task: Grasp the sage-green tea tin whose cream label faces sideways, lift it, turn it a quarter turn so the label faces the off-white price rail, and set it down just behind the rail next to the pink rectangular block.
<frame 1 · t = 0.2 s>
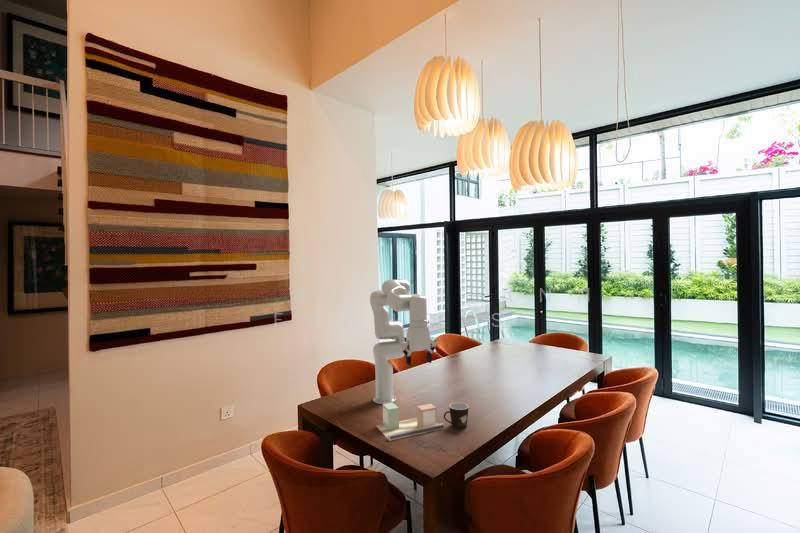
hand: (419, 363, 164), 30 cm above the table, fingers open, 9 cm apart
green tin: (390, 425, 170), point 1 cm above the table, touching shelf board
coffee mug: (455, 429, 168), on the table
pink rectangular block: (426, 426, 168), point 1 cm above the table, touching shelf board
shelf board: (409, 429, 168), on the table
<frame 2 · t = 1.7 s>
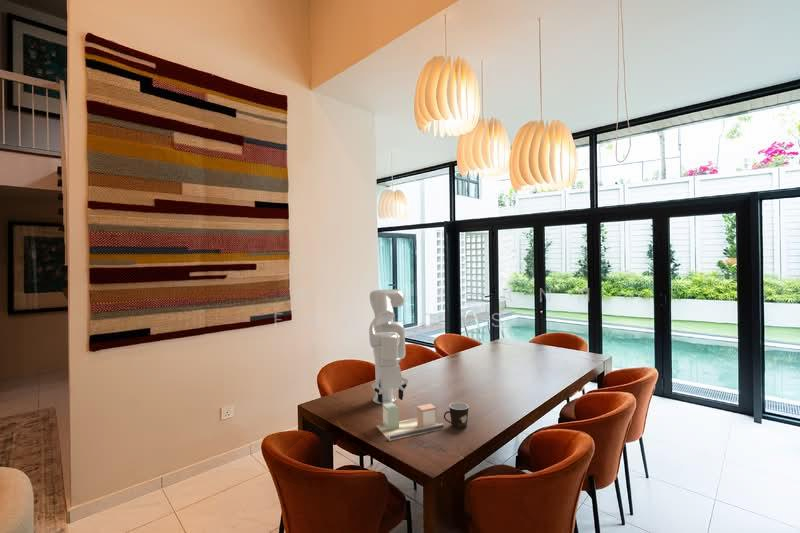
hand: (390, 400, 169), 13 cm above the table, fingers open, 9 cm apart
nothing on the table moved.
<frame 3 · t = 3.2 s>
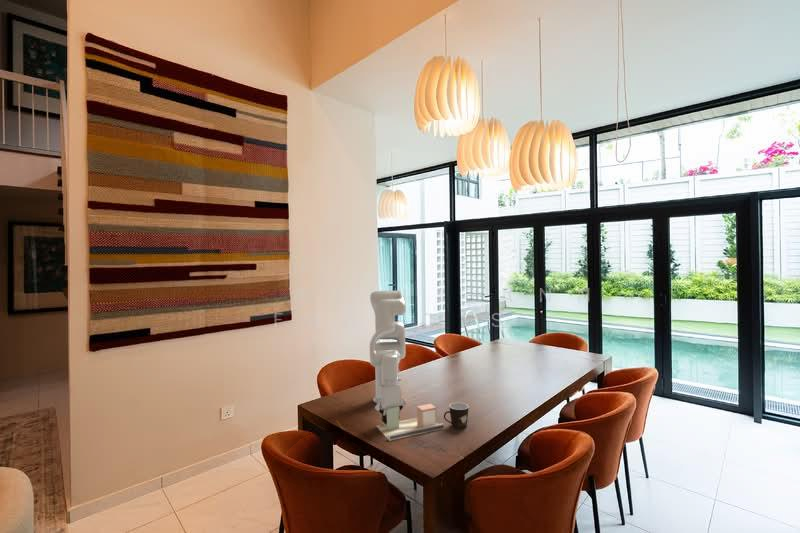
hand: (390, 421, 170), 3 cm above the table, fingers closed on green tin, 5 cm apart
green tin: (390, 425, 170), point 1 cm above the table, touching gripper, shelf board
everything else where it was.
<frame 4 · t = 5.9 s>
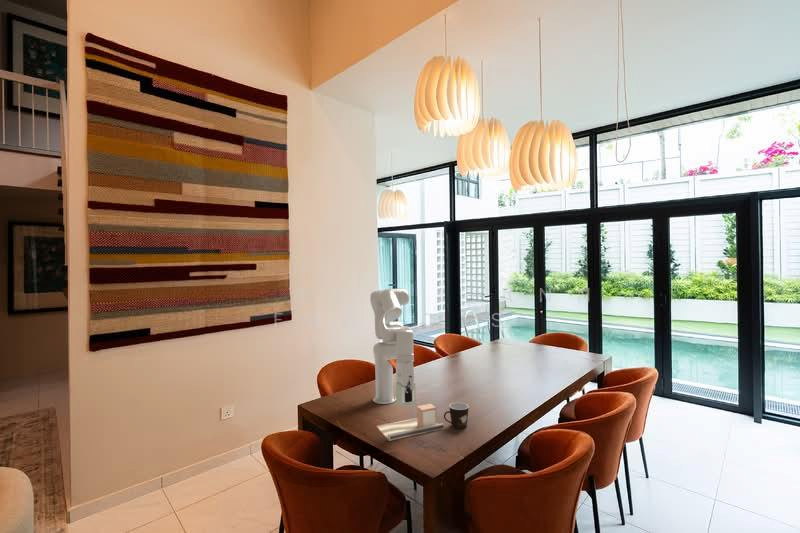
hand: (405, 399, 164), 15 cm above the table, fingers closed on green tin, 5 cm apart
green tin: (405, 403, 164), point 13 cm above the table, touching gripper
everything else where it was.
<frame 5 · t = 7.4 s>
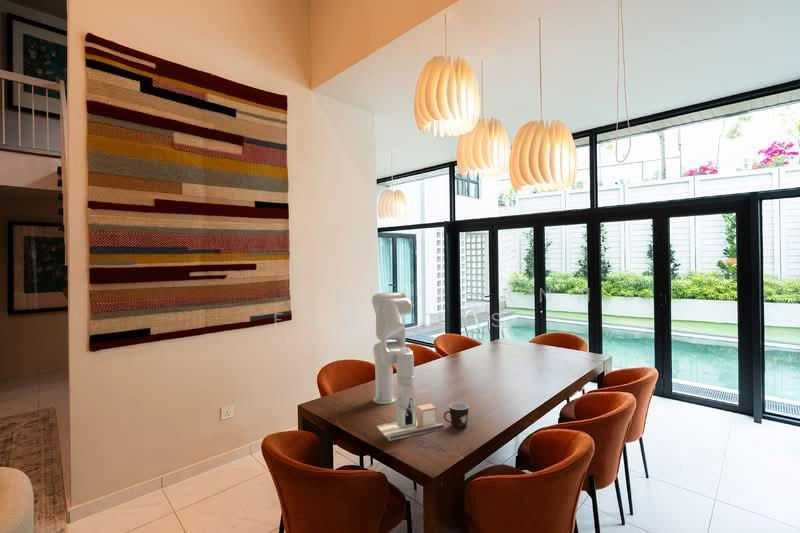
hand: (406, 421, 164), 5 cm above the table, fingers closed on green tin, 5 cm apart
green tin: (406, 425, 164), point 3 cm above the table, touching gripper
everything else where it was.
when the fingers open (4 cm above the table, at t = 8.5 s): green tin drops 1 cm, resting on shelf board.
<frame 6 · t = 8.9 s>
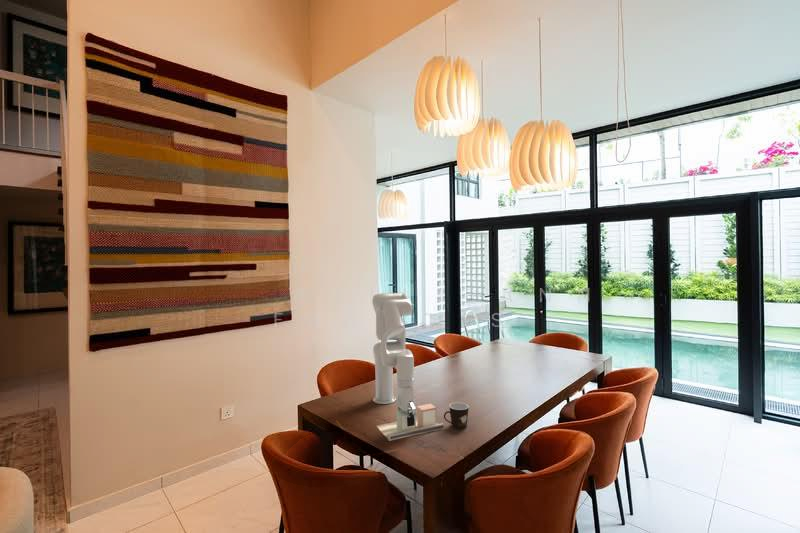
hand: (406, 421, 164), 5 cm above the table, fingers open, 9 cm apart
green tin: (406, 431, 164), point 1 cm above the table, touching shelf board
everything else where it was.
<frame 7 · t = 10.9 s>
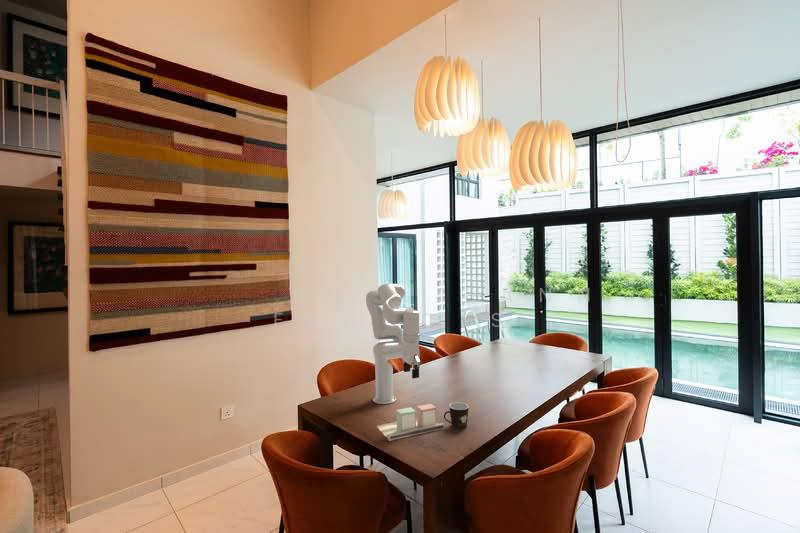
hand: (411, 374, 172), 23 cm above the table, fingers open, 9 cm apart
nothing on the table moved.
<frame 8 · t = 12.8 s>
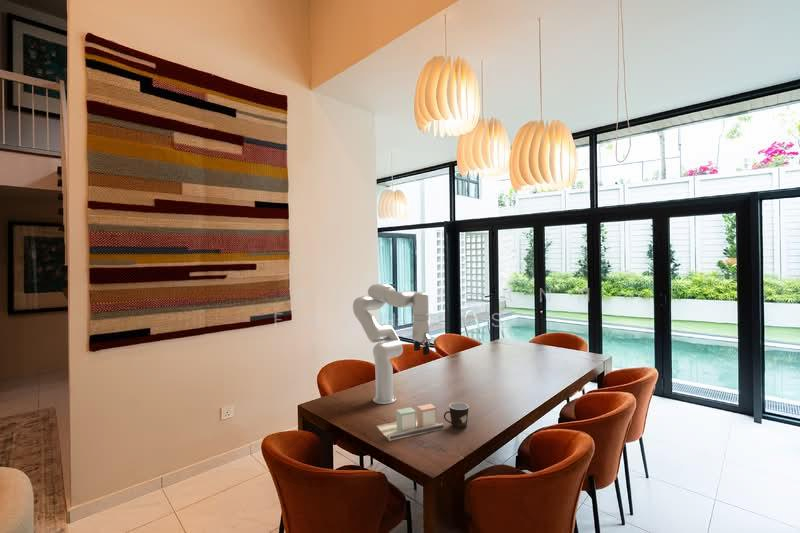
hand: (421, 352, 185), 30 cm above the table, fingers open, 9 cm apart
nothing on the table moved.
at the end: green tin inside the target area (0.1 cm from its centre), point 1.0 cm above the table; green tin tilted 0°; the gripper is holding nothing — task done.
